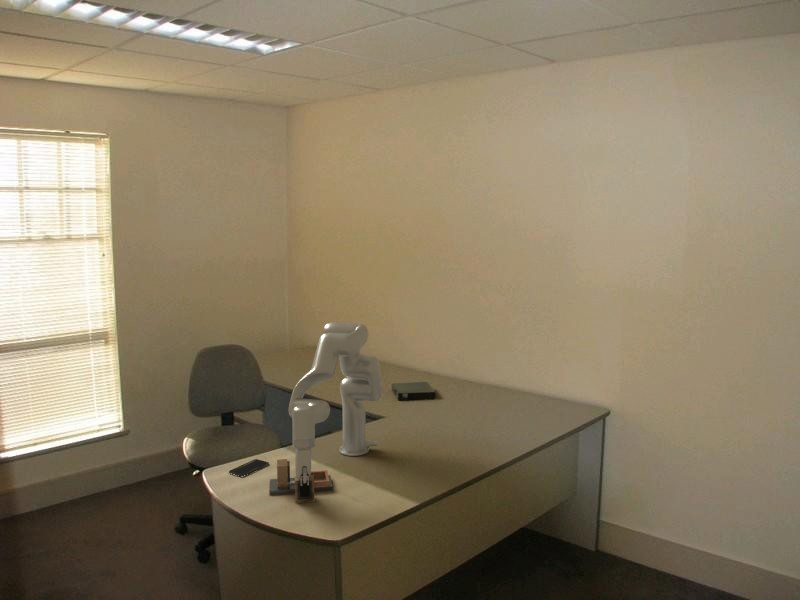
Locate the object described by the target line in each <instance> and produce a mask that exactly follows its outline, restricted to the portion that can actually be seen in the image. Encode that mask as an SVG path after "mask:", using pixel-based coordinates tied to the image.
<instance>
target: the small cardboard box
mask: <svg viewBox="0 0 800 600" xmlns="http://www.w3.org/2000/svg"><path fill="white" fill-rule="evenodd" d="M294 478H295V493H294V503H295V504H301V503H314V502H315V492H314V475H311V476H310V477H309V485H310V496H308V497H300V485H301V482H300V478H296V475H295V476H294ZM302 480H303V479H302Z"/></svg>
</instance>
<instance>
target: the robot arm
mask: <svg viewBox="0 0 800 600" xmlns="http://www.w3.org/2000/svg"><path fill="white" fill-rule="evenodd" d="M368 337H369V330H368V327H367V326H366V325H364V324H362V323H354V322H351V323H349V322H337V321H336V322H335V321H330V322H328V323H326V324H324V326H323V334H322V335H320V337H319V339H318V342H317V346H316V350H315V353H314V357H313V361H312V365H311V368H310V370H309V371H308V372H307V373H306V374H304V375H303V376H302V377H300V379H299V380H298V382H297V383H296V384H295V386H294V387H293V390H292V392H291V396H290V399H289V400H290V401H289V405H288V414H289V416H290V418H291V419H292V448H293V449H295V453H294V455H295V457H294V458H295V476H296V478H300V482H301V485H300V497H308V496H310V485H309V477H310V476H311V471H312V449H313V448H315V447H316V438H315V437H316V424H320V423H323V422H325V421H326V420H327V419H328V418H329V416H330V414H331V406H330V405H329V403H328V402H327V401H325V400H321V399H314V398H313V399H311V398H304V395H305V394H306V393H307V391H308V390H309V389H311V387H313V386H317V385H318V384H320V383H323V382H327V381H328V380H331V379H333V377H334V376H335V371H336V368H337V364H338V359H339V368H340V370H341V373H342V375H343V376H344V378H343V379H342V380H341V381H340V384H339V392H340V396H341V397H340V398H341V404H342V406H341V407H342V445H340V446H339V448H338V452H339V453H340V454H341V455H344V456H349V457H355V456H356V457H357V456H358V457H359V456H363V455H366V454H367V453H369V451H370V447H377V446H378V442H377V441H374V440H368V439H366V408H365V404H364V403H363V402H362V401H364V402H378V401H379V400H380V399H381V398H382V395H383V382H382V372H381V365H380V360H379V359H378V357H376V355H372V354H364V353H363V354H362V353H361V352H360V350H361V349H362V348H363V347H364V346H365V345H366V343H367V342H368V339H369V338H368ZM302 479H303V480H302Z"/></svg>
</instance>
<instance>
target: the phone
mask: <svg viewBox="0 0 800 600" xmlns="http://www.w3.org/2000/svg"><path fill="white" fill-rule="evenodd" d="M268 466H270V462H268V461H266V460H262V459H258V458H256V459H255V458H254V459H252V460H250V461H248V462H246V463H244V464H241V465H239V466H237V467H235V468H232V469H230V470H228V474H229V473H232V474H235V475H239V476H244V475H247V474H250V473H252V472H254V471H256V470H258V471H260V470H262V469H265V468H266V467H268ZM261 468H262V469H261ZM259 469H260V470H259ZM256 472H257V471H256ZM254 473H255V472H254ZM252 474H253V473H252ZM235 475H234V476H235ZM250 475H251V474H250Z"/></svg>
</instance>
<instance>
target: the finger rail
mask: <svg viewBox="0 0 800 600" xmlns="http://www.w3.org/2000/svg"><path fill="white" fill-rule="evenodd" d="M290 462H291V461H290V460H288V459H287V458H286V459H285V458H283V459H282V458H281V459H276V471H277V472H276V475H277V477H276V478H273V479H272V478H270V479H269V490H268V491H269V492H268V495H269V496H274V495H276V496H277V495H289V494H295V477H291V464H290ZM311 475H314V493H315V492H326V491H327V492H328V491H333V484H332V483H333V482H332V477H331V474H329V471H328V470H327V469H325V470H324V469H323V470H311Z"/></svg>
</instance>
